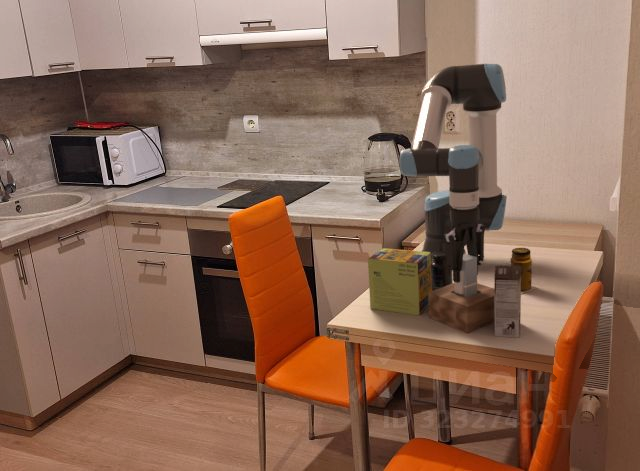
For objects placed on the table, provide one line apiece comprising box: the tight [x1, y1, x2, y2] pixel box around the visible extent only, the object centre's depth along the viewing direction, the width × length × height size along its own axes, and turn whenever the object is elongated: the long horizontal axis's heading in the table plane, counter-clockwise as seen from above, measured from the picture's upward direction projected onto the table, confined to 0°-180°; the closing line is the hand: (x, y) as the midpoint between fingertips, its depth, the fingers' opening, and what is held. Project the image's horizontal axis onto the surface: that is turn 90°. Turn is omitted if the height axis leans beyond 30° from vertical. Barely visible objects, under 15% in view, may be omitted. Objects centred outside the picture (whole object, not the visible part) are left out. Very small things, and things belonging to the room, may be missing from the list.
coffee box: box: [493, 264, 522, 338], centre depth 171 cm, size 9×6×16 cm
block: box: [428, 282, 495, 334], centre depth 181 cm, size 14×14×8 cm
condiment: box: [509, 247, 539, 295], centre depth 198 cm, size 7×8×12 cm
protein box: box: [367, 247, 432, 316], centre depth 191 cm, size 10×15×16 cm
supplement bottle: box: [431, 251, 454, 291], centre depth 200 cm, size 7×7×12 cm
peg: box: [455, 253, 478, 298], centre depth 179 cm, size 4×4×14 cm
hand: (465, 290), depth 180 cm, fingers closed on peg, 4 cm apart
